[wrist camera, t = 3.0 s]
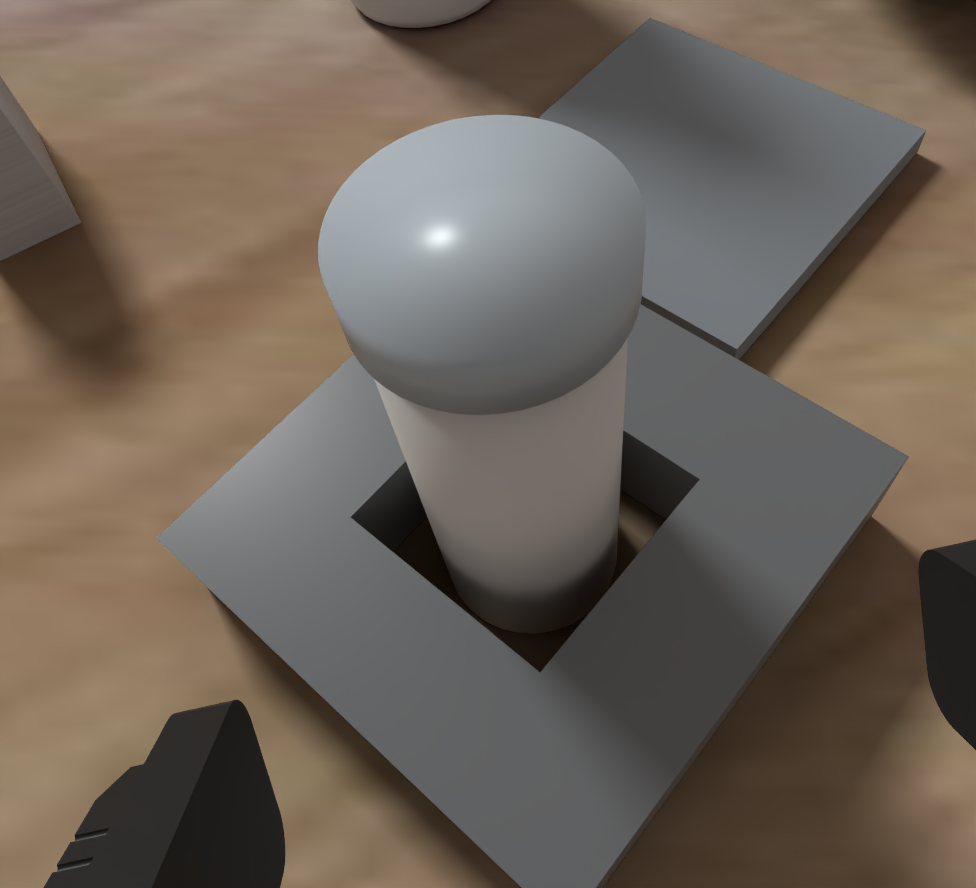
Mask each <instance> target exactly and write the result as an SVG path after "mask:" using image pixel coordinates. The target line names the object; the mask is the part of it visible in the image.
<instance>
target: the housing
mask: <svg viewBox="0 0 976 888" xmlns="http://www.w3.org/2000/svg"><path fill="white" fill-rule="evenodd" d="M908 457H909V456H907V455H905V454H903V453H902V452H900V451H898V450H896V449H895V448H893V447H891V446H889V445H888V444H886V443H884V442H882V441H881V440H879V439H877V438H875V437H874V436H872V435H870V434H868V433H867V432H865V431H863V430H861V429H859V428H858V427H856V426H854V425H852V424H851V423H849V422H847V421H845V420H844V419H842V418H840V417H838V416H837V415H835V414H833V413H831V412H830V411H828V410H826V409H824V408H823V407H821V406H819V405H817V404H815V403H814V402H812V401H810V400H808V399H807V398H805V397H803V396H801V395H800V394H798V393H796V392H794V391H793V390H791V389H789V388H787V387H786V386H784V385H782V384H780V383H779V382H777V381H775V380H773V379H771V378H770V377H768V376H766V375H764V374H763V373H761V372H759V371H757V370H756V369H754V368H752V367H750V366H749V365H747V364H745V363H743V362H742V361H740V360H738V359H736V358H735V357H733V356H731V355H729V354H727V353H726V352H724V351H722V350H720V349H719V348H717V347H715V346H713V345H712V344H710V343H708V342H706V341H705V340H703V339H701V338H699V337H698V336H696V335H694V334H692V333H691V332H689V331H687V330H685V329H684V328H682V327H680V326H678V325H676V324H675V323H673V322H671V321H669V320H668V319H666V318H664V317H662V316H661V315H659V314H657V313H655V312H654V311H652V310H650V309H648V308H647V307H645V306H643V305H641V304H640V308H639V312H638V316H637V319H636V321H635V323H634V326H633V328H632V331H631V333H630V334H629V336H628V346H627V365H626V385H625V404H624V424H623V443H622V463H621V483H620V489H621V490H622V491H624V492H625V493H627V494H628V495H630V496H631V497H633V498H634V499H636V500H637V501H639V502H640V503H642V504H643V505H645V506H646V507H647V508H649V509H650V510H652V511H653V512H655V513H656V514H658V515H659V516H661V517H662V518H664V519H665V520H666V521H665V522H664V523H663V524H662V526H661V527H660V528H659V529H658V530H657V532H656V533H655V534H654V535H653V536H652V538H651V539H650V540H649V541H648V543H647V544H646V545H645V546H644V547H643V549H642V550H641V551H640V552H639V553H638V555H637V556H636V557H635V558H634V559H633V561H632V562H631V563H630V564H629V566H628V567H627V568H626V569H625V570H624V572H623V573H622V574H621V575H620V576H619V578H618V579H617V580H616V581H615V582H614V584H613V585H612V586H611V587H610V589H609V590H608V591H607V592H606V593H605V595H604V596H603V597H602V598H601V599H600V601H599V602H598V603H597V604H596V606H595V607H594V608H593V609H592V610H591V612H590V613H589V614H588V615H587V616H586V618H585V619H584V620H583V621H582V622H581V624H580V625H579V626H578V627H577V629H576V630H575V631H574V632H573V633H572V635H571V636H570V637H569V638H568V639H567V641H566V642H565V643H564V644H563V645H562V647H561V648H560V649H559V650H558V652H557V653H556V654H555V655H554V656H553V658H552V659H551V660H550V661H549V662H548V664H547V665H546V666H545V667H544V668H543V670H542V671H541V672H539V671H538V670H536V669H535V668H534V667H533V666H532V665H530V664H529V663H528V662H527V661H525V660H524V659H523V658H522V657H521V656H519V655H518V654H517V653H516V652H514V651H513V650H512V649H511V648H510V647H508V646H507V645H506V644H505V643H503V642H502V641H501V640H500V639H499V638H497V637H496V636H495V635H494V634H492V633H491V632H490V631H489V630H488V629H486V628H485V627H484V626H483V625H481V624H480V623H479V622H478V621H477V620H475V619H474V618H473V617H472V616H470V615H469V614H468V613H467V612H466V611H464V610H463V609H462V608H461V607H459V606H458V605H457V604H456V603H455V602H453V601H452V600H451V599H450V598H448V597H447V596H446V595H445V594H444V593H442V592H441V591H440V590H439V589H437V588H436V587H435V586H434V585H433V584H431V583H430V582H429V581H428V580H426V579H425V578H424V577H423V576H422V575H420V574H419V573H418V572H417V571H415V570H414V569H413V568H412V567H411V566H409V565H408V564H407V563H406V562H404V561H403V560H402V559H401V558H400V557H398V556H397V555H396V554H395V553H393V552H394V551H395V549H396V548H397V547H398V546H399V545H400V544H401V543H402V542H403V541H404V540H405V539H406V538H407V537H408V536H409V535H410V534H411V533H412V532H413V530H414V529H415V528H416V527H417V526H418V525H419V524H420V523H421V522H422V521H423V520H424V519H425V518H426V517H427V515H426V512H425V509H424V507H423V504H422V502H421V499H420V496H419V494H418V491H417V489H416V486H415V483H414V481H413V478H412V476H411V473H410V471H409V468H408V465H407V463H406V460H405V458H404V455H403V452H402V450H401V447H400V445H399V442H398V439H397V437H396V434H395V432H394V429H393V426H392V424H391V421H390V419H389V416H388V414H387V411H386V408H385V406H384V403H383V401H382V398H381V395H380V393H379V390H378V388H377V385H376V382H375V380H374V378H373V377H372V376H371V375H370V374H369V373H368V372H367V371H366V370H365V369H364V368H363V366H362V365H361V364H360V363H359V361H358V360H357V358H356V357H355V355H354V354H353V355H352V356H351V357H350V358H349V359H348V360H347V361H346V362H345V363H344V364H343V365H342V366H341V367H340V368H338V369H337V370H336V371H335V372H334V373H333V374H332V375H331V376H330V377H329V378H328V379H327V380H326V381H324V382H323V383H322V384H321V385H320V386H319V387H318V388H317V389H316V390H315V391H314V392H313V393H312V394H311V395H309V396H308V397H307V398H306V399H305V400H304V401H303V402H302V403H301V404H300V405H299V406H298V407H297V408H295V409H294V410H293V411H292V412H291V413H290V414H289V415H288V416H287V417H286V418H285V419H284V420H283V421H282V422H280V423H279V424H278V425H277V426H276V427H275V428H274V429H273V430H272V431H271V432H270V433H269V434H268V435H266V436H265V437H264V438H263V439H262V440H261V441H260V442H259V443H258V444H257V445H256V446H255V447H254V448H253V449H251V450H250V451H249V452H248V453H247V454H246V455H245V456H244V457H243V458H242V459H241V460H240V461H239V462H237V463H236V464H235V465H234V466H233V467H232V468H231V469H230V470H229V471H228V472H227V473H226V474H225V475H224V476H222V477H221V478H220V479H219V480H218V481H217V482H216V483H215V484H214V485H213V486H212V487H211V488H210V489H208V490H207V491H206V492H205V493H204V494H203V495H202V496H201V497H200V498H199V499H198V500H197V501H196V502H195V503H193V504H192V505H191V506H190V507H189V508H188V509H187V510H186V511H185V512H184V513H183V514H182V515H181V516H179V517H178V518H177V519H176V520H175V521H174V522H173V523H172V524H171V525H170V526H169V527H168V528H167V529H166V530H164V531H163V532H162V533H161V534H160V535H159V536H158V537H157V538H156V539H157V540H158V541H159V542H160V543H161V544H162V545H163V546H165V547H166V548H167V549H168V550H169V551H170V552H171V553H172V554H173V555H174V556H175V557H176V558H177V559H178V560H179V561H180V562H181V563H182V564H183V565H184V566H185V567H186V568H188V569H189V570H190V571H191V572H192V573H193V574H194V575H195V576H196V577H197V578H198V579H199V580H200V581H201V582H202V583H203V584H204V585H205V586H206V587H207V588H208V589H210V590H211V591H212V592H213V593H214V594H215V595H216V596H217V597H218V598H219V599H220V600H221V601H222V602H223V603H224V604H225V605H226V606H227V607H228V608H229V609H230V610H231V611H233V612H234V613H235V614H236V615H237V616H238V617H239V618H240V619H241V620H242V621H243V622H244V623H245V624H246V625H247V626H248V627H249V628H250V629H251V630H252V631H253V632H255V633H256V634H257V635H258V636H259V637H260V638H261V639H262V640H263V641H264V642H265V643H266V644H267V645H268V646H269V647H270V648H271V649H272V650H273V651H274V652H275V653H276V654H278V655H279V656H280V657H281V658H282V659H283V660H284V661H285V662H286V663H287V664H288V665H289V666H290V667H291V668H292V669H293V670H294V671H295V672H296V673H297V674H298V675H300V676H301V677H302V678H303V679H304V680H305V681H306V682H307V683H308V684H309V685H310V686H311V687H312V688H313V689H314V690H315V691H316V692H317V693H318V694H319V695H320V696H321V697H323V698H324V699H325V700H326V701H327V702H328V703H329V704H330V705H331V706H332V707H333V708H334V709H335V710H336V711H337V712H338V713H339V714H340V715H341V716H342V717H343V718H345V719H346V720H347V721H348V722H349V723H350V724H351V725H352V726H353V727H354V728H355V729H356V730H357V731H358V732H359V733H360V734H361V735H362V736H363V737H364V738H365V739H367V740H368V741H369V742H370V743H371V744H372V745H373V746H374V747H375V748H376V749H377V750H378V751H379V752H380V753H381V754H382V755H383V756H384V757H385V758H386V759H387V760H388V761H390V762H391V763H392V764H393V765H394V766H395V767H396V768H397V769H398V770H399V771H400V772H401V773H402V774H403V775H404V776H405V777H406V778H407V779H408V780H409V781H410V782H412V783H413V784H414V785H415V786H416V787H417V788H418V789H419V790H420V791H421V792H422V793H423V794H424V795H425V796H426V797H427V798H428V799H429V800H430V801H431V802H432V803H433V804H435V805H436V806H437V807H438V808H439V809H440V810H441V811H442V812H443V813H444V814H445V815H446V816H447V817H448V818H449V819H450V820H451V821H452V822H453V823H454V824H455V825H457V826H458V827H459V828H460V829H461V830H462V831H463V832H464V833H465V834H466V835H467V836H468V837H469V838H470V839H471V840H472V841H473V842H474V843H475V844H476V845H477V846H478V847H480V848H481V849H482V850H483V851H484V852H485V853H486V854H487V855H488V856H489V857H490V858H491V859H492V860H493V861H494V862H495V863H496V864H497V865H498V866H499V867H500V868H502V869H503V870H504V871H505V872H506V873H507V874H508V875H509V876H510V877H511V878H512V879H513V880H514V881H515V882H516V883H517V884H518V885H519V886H520V887H521V888H603V887H604V885H605V884H606V882H607V881H608V880H609V878H610V877H611V875H612V874H613V873H614V871H615V870H616V869H617V867H618V866H619V864H620V863H621V862H622V860H623V859H624V857H625V856H626V855H627V853H628V852H629V851H630V849H631V848H632V846H633V845H634V844H635V842H636V841H637V839H638V838H639V837H640V835H641V834H642V833H643V831H644V830H645V828H646V827H647V826H648V824H649V823H650V822H651V820H652V819H653V817H654V816H655V815H656V813H657V812H658V810H659V809H660V808H661V806H662V805H663V804H664V802H665V801H666V799H667V798H668V797H669V795H670V794H671V792H672V791H673V790H674V788H675V787H676V786H677V784H678V783H679V781H680V780H681V779H682V777H683V776H684V775H685V773H686V772H687V770H688V769H689V768H690V766H691V765H692V763H693V762H694V761H695V759H696V758H697V757H698V755H699V754H700V752H701V751H702V750H703V748H704V747H705V745H706V744H707V743H708V741H709V740H710V739H711V737H712V736H713V734H714V733H715V732H716V730H717V729H718V728H719V726H720V725H721V723H722V722H723V721H724V719H725V718H726V716H727V715H728V714H729V712H730V711H731V710H732V708H733V707H734V705H735V704H736V703H737V701H738V700H739V698H740V697H741V696H742V694H743V693H744V692H745V690H746V689H747V687H748V686H749V685H750V683H751V682H752V680H753V679H754V678H755V676H756V675H757V674H758V672H759V671H760V669H761V668H762V667H763V665H764V664H765V663H766V661H767V660H768V658H769V657H770V656H771V654H772V653H773V651H774V650H775V649H776V647H777V646H778V645H779V643H780V642H781V640H782V639H783V638H784V636H785V635H786V633H787V632H788V631H789V629H790V628H791V627H792V625H793V624H794V622H795V621H796V620H797V618H798V617H799V616H800V614H801V613H802V611H803V610H804V609H805V607H806V606H807V604H808V603H809V602H810V600H811V599H812V598H813V596H814V595H815V593H816V592H817V591H818V589H819V588H820V586H821V585H822V584H823V582H824V581H825V580H826V578H827V577H828V575H829V574H830V573H831V571H832V570H833V569H834V567H835V566H836V564H837V563H838V562H839V560H840V559H841V557H842V556H843V555H844V553H845V552H846V551H847V549H848V548H849V546H850V545H851V544H852V542H853V541H854V539H855V538H856V537H857V535H858V534H859V533H860V531H861V530H862V528H863V527H864V526H865V524H866V523H867V521H868V520H869V519H870V517H871V516H872V514H873V513H874V511H875V510H876V508H877V506H878V505H879V503H880V502H881V500H882V499H883V497H884V495H885V494H886V492H887V491H888V489H889V487H890V486H891V484H892V483H893V481H894V479H895V478H896V476H897V475H898V473H899V471H900V470H901V468H902V467H903V465H904V463H905V462H906V460H907V459H908Z"/></svg>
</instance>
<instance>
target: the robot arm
mask: <svg viewBox="0 0 976 888" xmlns="http://www.w3.org/2000/svg"><path fill="white" fill-rule="evenodd" d="M919 585H920V596H921V606H922V617H923V628H924V639H925V650H926V661H927V671H928V677H929V682H930V685H931V689H932V692H933V694H934V697H935V699H936V702H937V704H938V706H939V708H940V710H941V712H942V713H943V715H944V717H945V718H946V720H947V721H948V722H949V724H950V725H951V726H952V727H953V728H954V729H955V730H956V731H957V732H958V733H959V734H960V735H961V736H962V737H963V738H964V739H965V740H966V741H967V742H968V743H969V744H970V745H971V746H972V747H973V748H974V749H975V750H976V540H972V541H967V542H963V543H958V544H954V545H949V546H944V547H940V548H935V549H931V550H927V551H925V552H924V553H923V554H922V556H921V558H920V562H919ZM284 865H285V838H284V830H283V823H282V819H281V814H280V811H279V807H278V804H277V801H276V798H275V795H274V791H273V788H272V785H271V782H270V779H269V776H268V772H267V769H266V766H265V763H264V760H263V756H262V753H261V750H260V747H259V744H258V740H257V737H256V734H255V731H254V728H253V724H252V721H251V718H250V716H249V713H248V711H247V709H246V707H245V706H244V704H243V703H242V702H241V701H239V700H233V701H229V702H224V703H220V704H215V705H210V706H206V707H201V708H197V709H192V710H188V711H183V712H178V713H175V714H173V715H171V716H170V718H169V719H168V721H167V723H166V724H165V726H164V728H163V730H162V732H161V734H160V736H159V737H158V739H157V741H156V743H155V745H154V747H153V748H152V750H151V752H150V754H149V756H148V758H147V759H146V761H145V763H144V764H143V765H138V766H134V767H130V768H129V769H128V770H127V771H126V772H125V773H124V774H123V775H122V776H121V777H120V778H119V779H118V780H117V781H116V782H114V783H113V784H112V785H111V786H110V787H109V788H108V789H107V790H106V791H105V792H104V793H103V794H102V795H101V796H100V797H98V798H97V799H96V800H95V802H94V804H93V805H92V807H91V809H90V810H89V812H88V814H87V815H86V817H85V819H84V820H83V822H82V824H81V825H80V827H79V829H78V830H77V832H76V834H75V841H74V842H70V844H69V846H68V847H67V849H66V851H65V852H64V854H63V856H62V857H61V859H60V861H59V863H58V864H57V867H58V870H57V872H54V873H52V874H51V876H50V878H49V879H48V881H47V883H46V884H45V886H44V888H280V885H281V881H282V877H283V872H284Z"/></svg>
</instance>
